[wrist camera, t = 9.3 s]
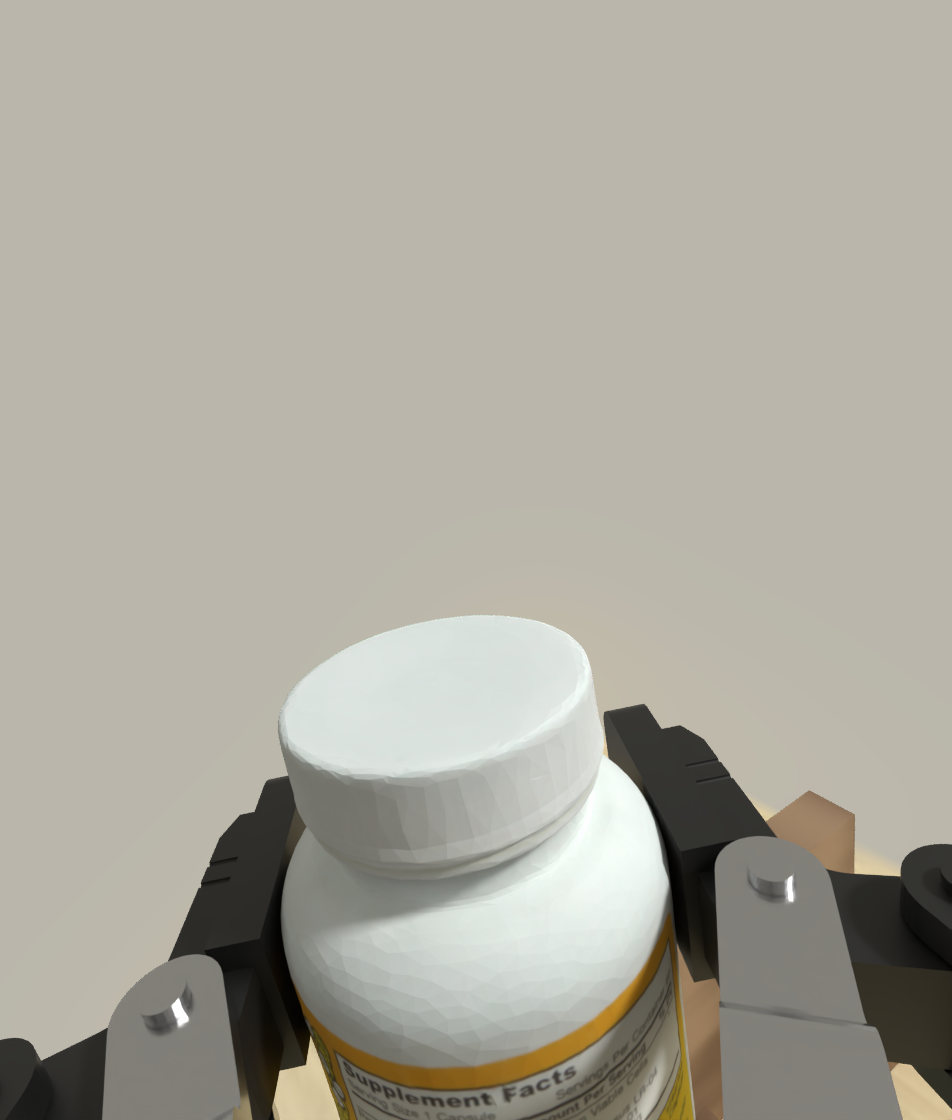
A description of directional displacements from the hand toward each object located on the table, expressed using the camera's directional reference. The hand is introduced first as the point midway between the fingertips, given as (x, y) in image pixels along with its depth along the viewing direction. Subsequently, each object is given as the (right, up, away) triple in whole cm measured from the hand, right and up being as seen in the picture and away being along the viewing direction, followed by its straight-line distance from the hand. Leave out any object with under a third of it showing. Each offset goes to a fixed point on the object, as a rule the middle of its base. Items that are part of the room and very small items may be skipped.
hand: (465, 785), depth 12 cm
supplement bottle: (+1, -7, -1) cm, 7 cm away
